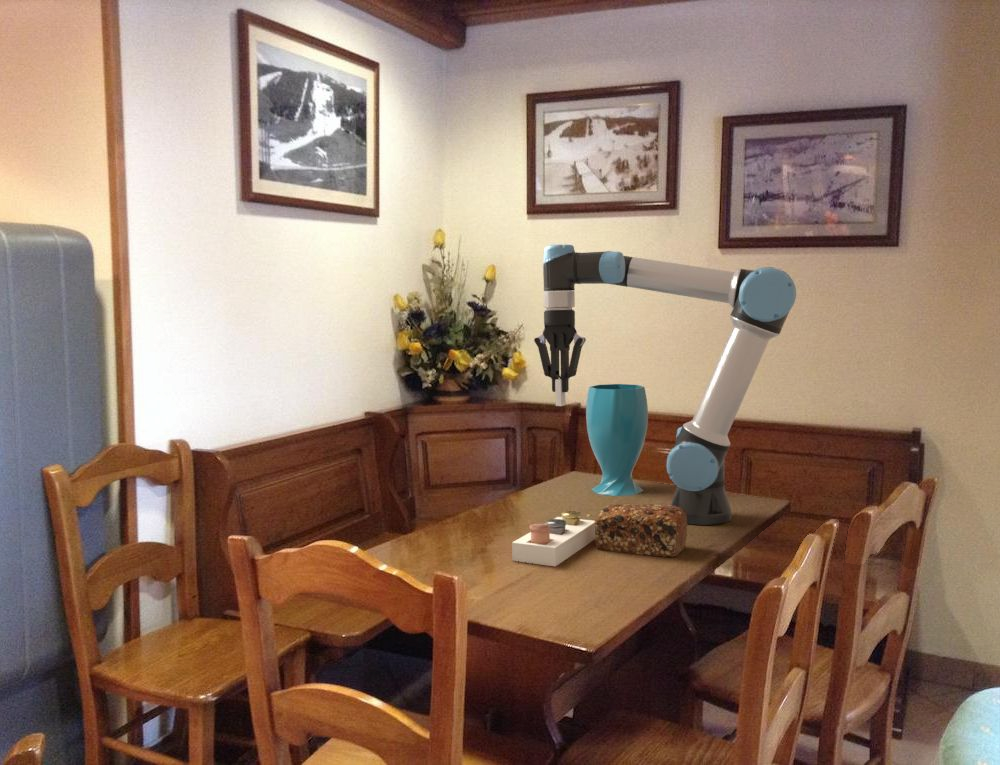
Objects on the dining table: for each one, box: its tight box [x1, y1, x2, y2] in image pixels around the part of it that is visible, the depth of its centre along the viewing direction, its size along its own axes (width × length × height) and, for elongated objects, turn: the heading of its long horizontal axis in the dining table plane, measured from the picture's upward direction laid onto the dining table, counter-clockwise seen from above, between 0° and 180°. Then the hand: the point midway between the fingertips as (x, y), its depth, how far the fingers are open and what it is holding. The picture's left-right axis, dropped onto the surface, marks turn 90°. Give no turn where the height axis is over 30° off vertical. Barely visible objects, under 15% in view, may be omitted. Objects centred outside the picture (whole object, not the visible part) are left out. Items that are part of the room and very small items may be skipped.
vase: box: [585, 383, 649, 497], centre depth 254 cm, size 17×17×30 cm
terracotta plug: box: [529, 523, 550, 545], centre depth 189 cm, size 4×4×6 cm
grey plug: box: [545, 518, 566, 535], centre depth 197 cm, size 4×4×6 cm
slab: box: [511, 516, 595, 567], centre depth 197 cm, size 10×24×4 cm, turn 153°
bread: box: [594, 503, 688, 558], centre depth 196 cm, size 19×11×10 cm, turn 63°
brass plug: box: [561, 510, 582, 526], centre depth 205 cm, size 4×4×6 cm
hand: (560, 405), depth 217 cm, fingers closed
